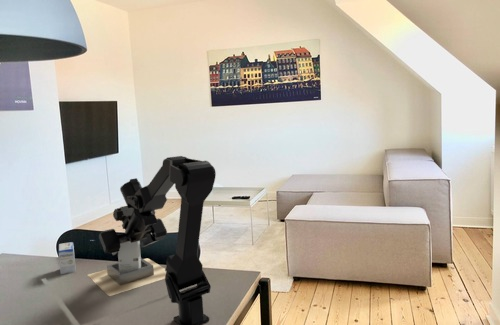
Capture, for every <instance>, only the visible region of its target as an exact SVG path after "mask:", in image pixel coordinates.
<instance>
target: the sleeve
mask: <svg viewBox="0 0 500 325" xmlns="http://www.w3.org/2000/svg"><path fill="white" fill-rule="evenodd" d="M144 259H145V258H142V257H141V268H139V269H135V270H132V271H128V272H125V273H120V272H119V261H118V262H116V263H110V264H107V265H106V269H107V274H108V276H109V277H111V278H112V279H113V280H114V281H115V282H116V283H118V284H119V285H123V284H127V283H130V282H133V281H136V280H139V279H143V278H146V277H149V276H152V275H154V269H153V265H152V264H150V263H148V262H147V261H145V260H144Z"/></svg>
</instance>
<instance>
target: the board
mask: <svg viewBox="0 0 500 325" xmlns="http://www.w3.org/2000/svg"><path fill="white" fill-rule="evenodd" d="M143 259H144V260H145V261H147V262H148V263H150V264H152V265H153V269H154V275H152V276H149V277H146V278H143V279H139V280H136V281H133V282H130V283H127V284H123V285H119V284H118V283H116V282H115V281H114V280H113V279H112V278H111V277H109V276H108V274H107V268H106V269H103V270H99V271H96V272H93V273H89V274H87V277H88V278H89V279H91V281H93V282H94V283H95V285H97V286H98V287H99V288H100V290H102V292H104V293H105V294H106V295H107V296H108V297H112V296H115V295H118V294H120V293H121V294H122V293H125V292H127V291H130V290H133V289H136V288H137V289H138V288H140V287H142V286H143V287H144V286H147V285H149V284H152V283H157V282H158V281H161V280H165V275H166V271H165V269H166V267H163V266H161V265H160V264H158V263H156V262H155V261H154V260H152V259H150V258H143Z"/></svg>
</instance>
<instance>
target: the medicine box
mask: <svg viewBox="0 0 500 325" xmlns="http://www.w3.org/2000/svg"><path fill="white" fill-rule="evenodd" d="M74 248H75V246H74V242H73V241H71V242H64V243H59V244H58V260H59V270H60V271H59V272H60V275H65V274H70V273H75V272H76V270H77V269H76V259H75V257H76V256H75V249H74Z"/></svg>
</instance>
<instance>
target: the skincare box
mask: <svg viewBox="0 0 500 325" xmlns="http://www.w3.org/2000/svg"><path fill="white" fill-rule="evenodd" d="M119 250H120V251H119V252H117V258H118V262H119V272H120V273H125V272H128V271H132V270H135V269H139V268H141V258H142V257H141V240H140V241H136V242H132V243H131V242H130V241H129V242H125V243H121V244H120V249H119Z"/></svg>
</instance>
